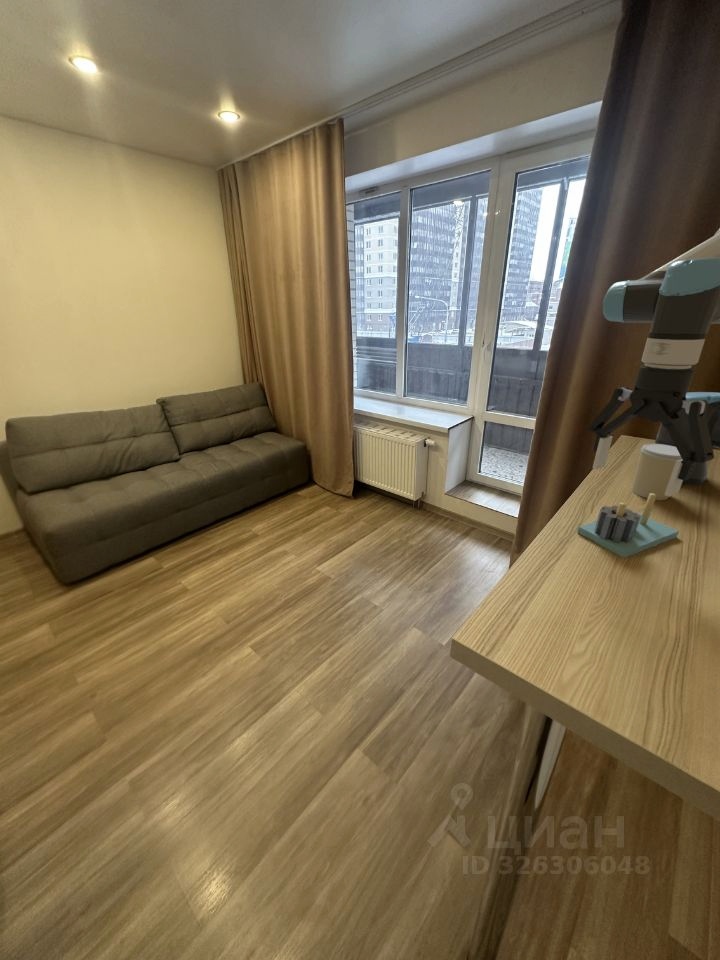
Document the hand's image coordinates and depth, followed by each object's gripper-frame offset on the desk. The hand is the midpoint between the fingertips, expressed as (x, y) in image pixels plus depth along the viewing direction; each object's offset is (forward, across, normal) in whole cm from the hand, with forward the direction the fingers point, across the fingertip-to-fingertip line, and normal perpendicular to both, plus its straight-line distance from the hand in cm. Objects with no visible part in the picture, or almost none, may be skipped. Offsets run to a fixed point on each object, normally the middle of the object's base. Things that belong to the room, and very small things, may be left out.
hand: (631, 480), depth 72 cm
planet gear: (+12, 0, -1) cm, 12 cm away
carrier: (+14, 0, +4) cm, 14 cm away
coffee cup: (+14, -10, +29) cm, 34 cm away
